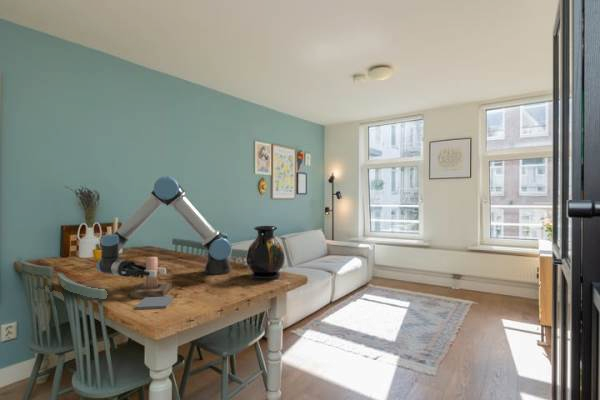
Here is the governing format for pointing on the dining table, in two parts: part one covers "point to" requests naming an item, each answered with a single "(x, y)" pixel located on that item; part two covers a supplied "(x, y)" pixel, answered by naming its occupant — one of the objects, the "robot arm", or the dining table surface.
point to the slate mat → (154, 302)
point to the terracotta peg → (152, 265)
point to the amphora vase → (265, 255)
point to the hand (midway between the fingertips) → (160, 272)
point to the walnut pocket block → (151, 290)
